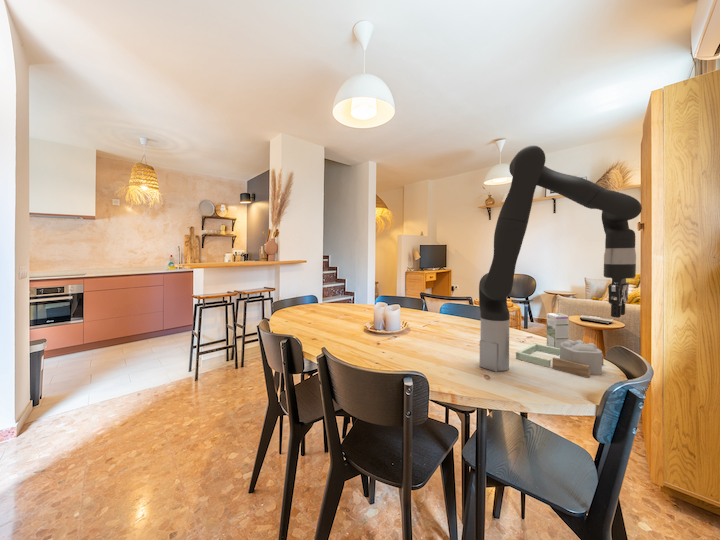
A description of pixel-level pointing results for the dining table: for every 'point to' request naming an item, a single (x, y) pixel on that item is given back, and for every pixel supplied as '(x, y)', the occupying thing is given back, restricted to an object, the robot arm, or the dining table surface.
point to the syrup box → (557, 329)
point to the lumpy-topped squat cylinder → (582, 354)
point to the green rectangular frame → (532, 348)
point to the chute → (572, 367)
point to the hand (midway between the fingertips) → (618, 315)
